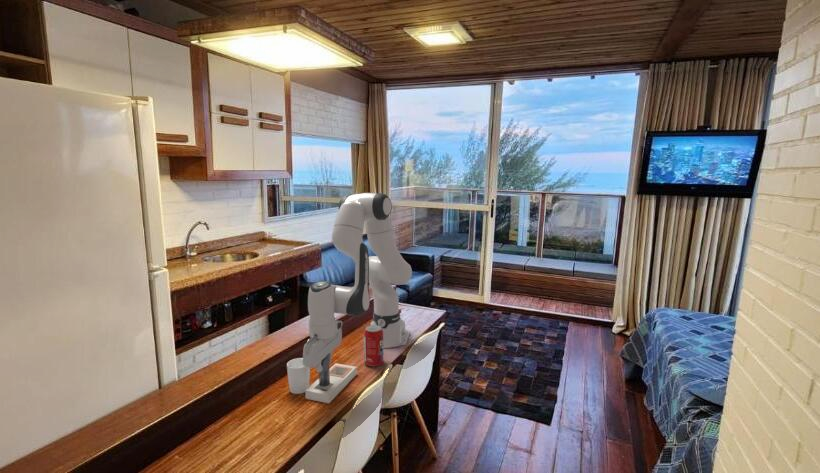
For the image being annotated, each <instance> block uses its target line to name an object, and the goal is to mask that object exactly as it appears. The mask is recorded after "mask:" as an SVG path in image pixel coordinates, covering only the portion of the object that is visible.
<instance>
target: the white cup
mask: <svg viewBox="0 0 820 473" xmlns="http://www.w3.org/2000/svg"><path fill="white" fill-rule="evenodd" d="M286 370H287V381H288V385H289V386H288V387H289V392H290V393H291V394H293V395H301V394H304V393H305V390H306V389H308V388H309V387H310V379H311V378H310V377H311V376H310V375H311V368H309V367H305V366H304V365H303V357H297V358H293V359H291V360H289V361H288V362H287V363H286Z"/></svg>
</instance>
